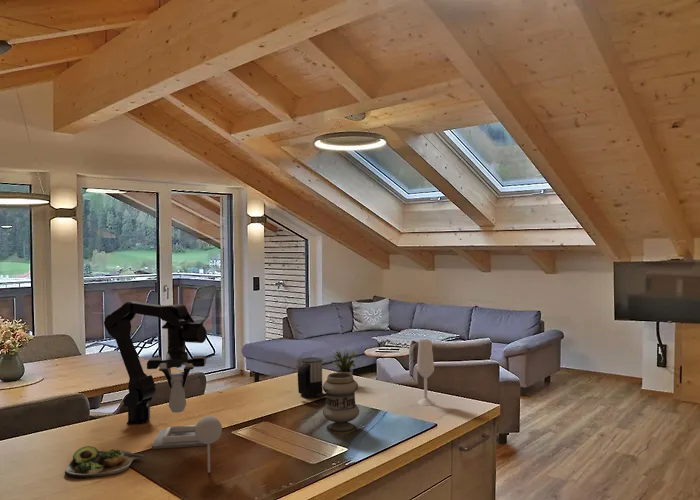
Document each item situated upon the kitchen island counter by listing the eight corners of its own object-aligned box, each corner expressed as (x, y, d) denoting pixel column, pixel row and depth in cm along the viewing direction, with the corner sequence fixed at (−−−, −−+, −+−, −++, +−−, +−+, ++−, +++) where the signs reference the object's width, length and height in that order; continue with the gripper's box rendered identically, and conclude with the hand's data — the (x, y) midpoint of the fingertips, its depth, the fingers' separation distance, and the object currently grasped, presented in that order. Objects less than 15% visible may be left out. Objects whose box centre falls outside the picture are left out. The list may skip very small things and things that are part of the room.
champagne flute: (437, 401, 216) (436, 339, 216) (430, 406, 211) (429, 342, 211) (421, 399, 220) (420, 338, 220) (414, 403, 214) (413, 341, 214)
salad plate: (146, 451, 168) (146, 436, 168) (138, 475, 151) (138, 458, 151) (77, 458, 164) (76, 442, 164) (60, 483, 147) (59, 465, 147)
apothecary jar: (315, 429, 186) (314, 375, 186) (340, 420, 195) (340, 368, 195) (341, 437, 178) (341, 380, 178) (366, 428, 187) (366, 374, 186)
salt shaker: (181, 413, 188) (180, 375, 188) (165, 413, 189) (164, 374, 189) (189, 408, 194) (188, 371, 194) (174, 408, 195) (173, 370, 195)
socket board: (151, 448, 170) (151, 441, 170) (161, 431, 185) (161, 424, 185) (205, 445, 172) (205, 437, 172) (210, 428, 188) (210, 421, 188)
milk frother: (303, 392, 233) (303, 356, 233) (341, 393, 231) (340, 357, 231) (295, 401, 219) (294, 363, 219) (335, 402, 217) (334, 364, 217)
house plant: (322, 388, 238) (322, 350, 238) (329, 380, 252) (328, 344, 252) (355, 389, 236) (355, 351, 236) (360, 381, 250) (360, 345, 249)
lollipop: (198, 467, 155) (197, 413, 155) (224, 466, 156) (223, 412, 155) (193, 478, 148) (192, 421, 148) (220, 476, 148) (219, 420, 148)
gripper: (143, 347, 182) (143, 395, 182) (202, 344, 185) (203, 392, 185) (149, 341, 193) (150, 386, 193) (205, 339, 196) (206, 383, 196)
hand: (177, 387), depth 191 cm, fingers closed on salt shaker, 4 cm apart
